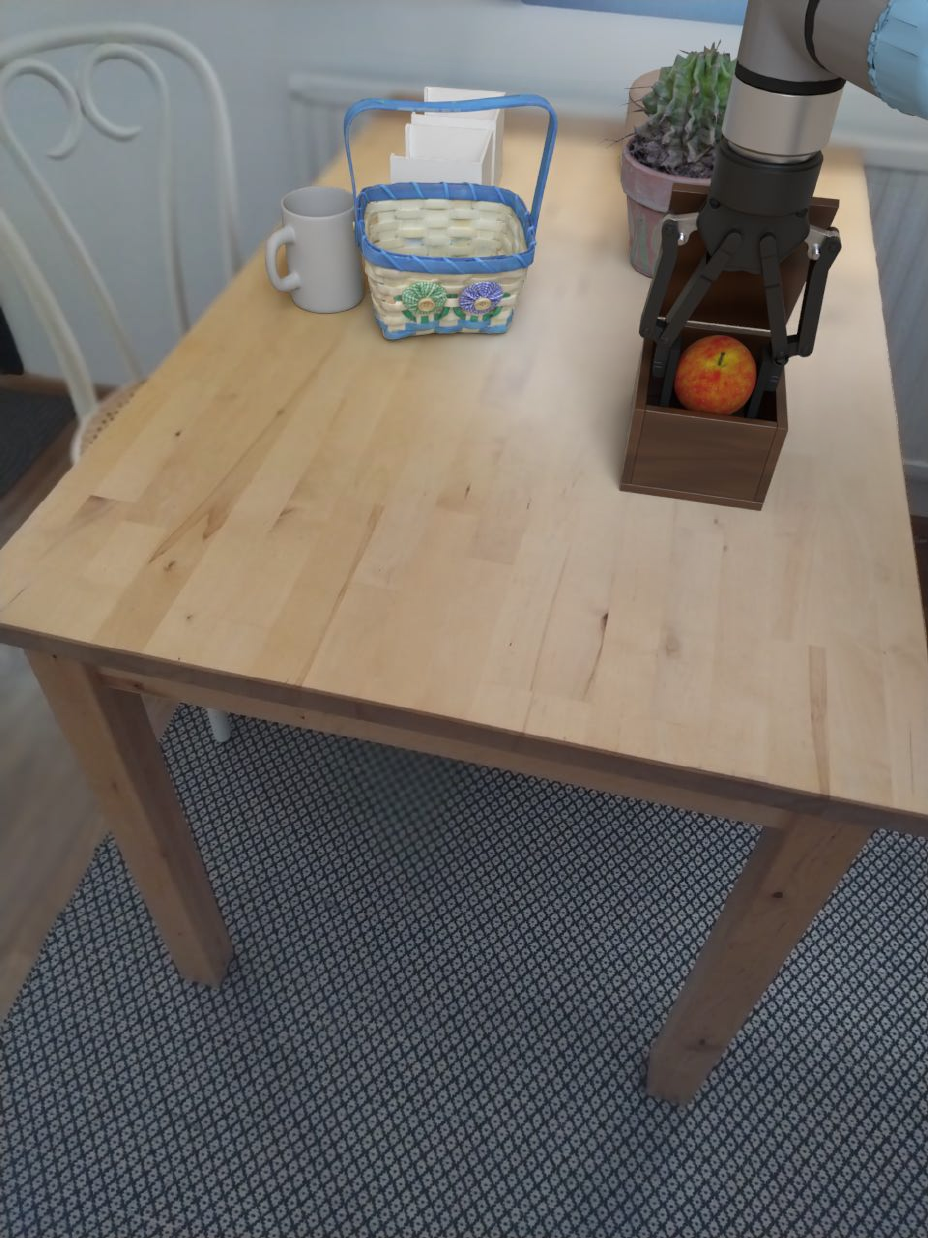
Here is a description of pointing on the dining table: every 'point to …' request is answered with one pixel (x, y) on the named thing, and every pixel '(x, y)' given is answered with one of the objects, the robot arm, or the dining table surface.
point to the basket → (446, 238)
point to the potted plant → (673, 144)
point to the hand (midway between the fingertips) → (705, 412)
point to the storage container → (452, 143)
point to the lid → (738, 291)
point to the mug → (318, 250)
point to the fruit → (715, 375)
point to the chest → (703, 436)
